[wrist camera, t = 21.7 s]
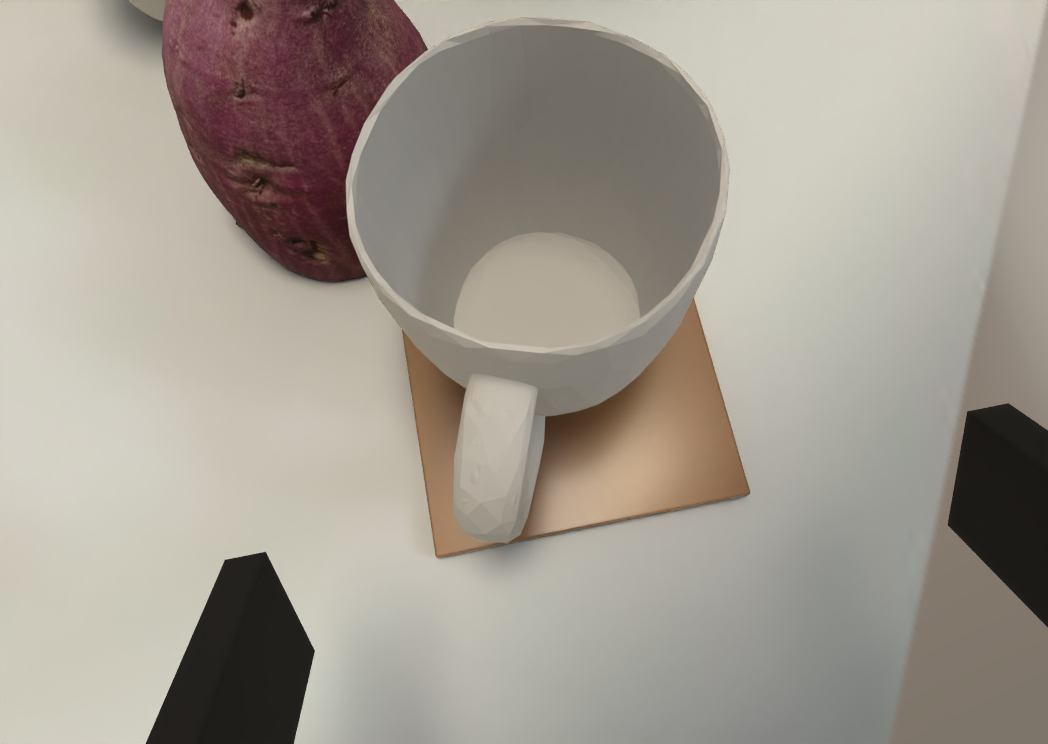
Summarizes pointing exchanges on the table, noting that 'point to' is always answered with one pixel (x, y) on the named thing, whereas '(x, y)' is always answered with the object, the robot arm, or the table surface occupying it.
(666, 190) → the mug
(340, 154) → the vegetable
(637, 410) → the mat
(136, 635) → the table surface
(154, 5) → the cup
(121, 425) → the table surface
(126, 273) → the table surface
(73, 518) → the table surface
